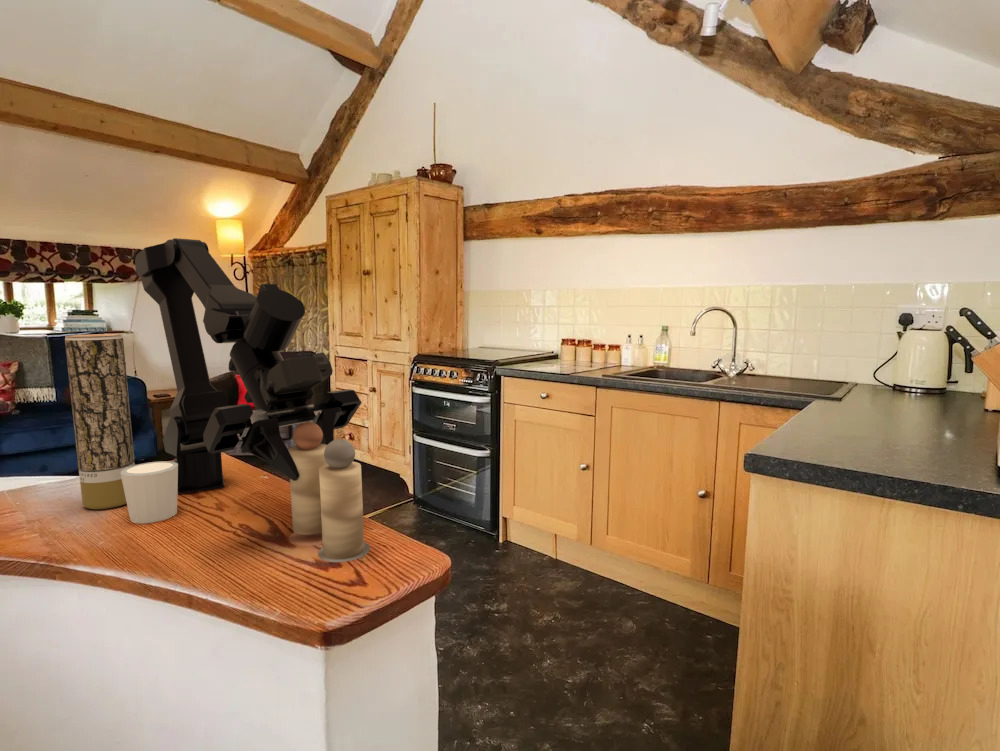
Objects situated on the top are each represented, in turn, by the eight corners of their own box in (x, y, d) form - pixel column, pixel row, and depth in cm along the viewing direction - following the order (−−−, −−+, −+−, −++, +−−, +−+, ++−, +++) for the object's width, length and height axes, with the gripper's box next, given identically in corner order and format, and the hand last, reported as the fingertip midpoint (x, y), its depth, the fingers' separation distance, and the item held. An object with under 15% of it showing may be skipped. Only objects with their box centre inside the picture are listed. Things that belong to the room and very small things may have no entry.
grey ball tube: (358, 539, 68) (354, 432, 66) (368, 553, 64) (364, 441, 62) (319, 547, 66) (314, 437, 64) (327, 562, 62) (322, 446, 60)
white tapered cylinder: (121, 514, 79) (117, 466, 78) (177, 503, 83) (173, 457, 82) (128, 529, 74) (123, 478, 73) (187, 516, 78) (183, 468, 77)
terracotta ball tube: (322, 516, 72) (317, 416, 71) (338, 527, 69) (334, 422, 67) (286, 526, 69) (280, 421, 67) (302, 537, 66) (296, 428, 64)
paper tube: (110, 512, 80) (92, 337, 76) (70, 509, 81) (51, 336, 78) (148, 496, 86) (134, 334, 83) (111, 493, 87) (95, 333, 84)
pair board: (273, 544, 69) (272, 536, 69) (323, 527, 74) (323, 519, 74) (332, 577, 60) (332, 569, 60) (385, 555, 66) (384, 547, 66)
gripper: (206, 336, 61) (260, 451, 56) (350, 329, 75) (405, 421, 70) (183, 399, 68) (230, 508, 62) (321, 382, 82) (369, 470, 76)
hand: (315, 473), depth 67 cm, fingers closed on terracotta ball tube, 5 cm apart
